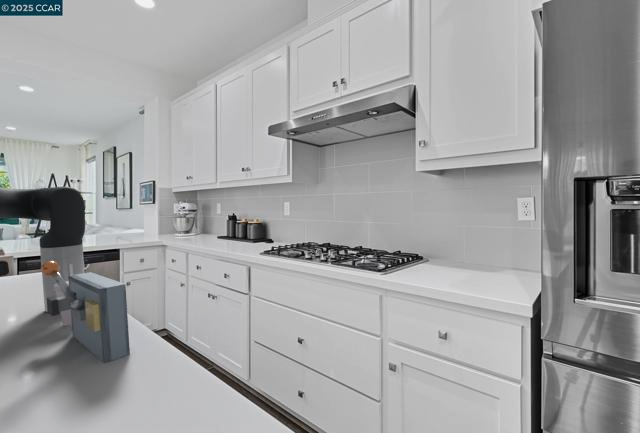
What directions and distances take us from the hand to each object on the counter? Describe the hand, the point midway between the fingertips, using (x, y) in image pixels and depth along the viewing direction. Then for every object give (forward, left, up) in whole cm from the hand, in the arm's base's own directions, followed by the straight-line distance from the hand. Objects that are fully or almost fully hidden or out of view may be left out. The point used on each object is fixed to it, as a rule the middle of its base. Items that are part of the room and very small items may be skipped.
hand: (7, 267), depth 51 cm
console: (-8, +12, -18) cm, 23 cm away
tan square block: (-1, +12, -13) cm, 17 cm away
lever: (-7, +9, -9) cm, 15 cm away
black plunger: (-14, +7, -12) cm, 20 cm away
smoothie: (-28, +10, -19) cm, 35 cm away
